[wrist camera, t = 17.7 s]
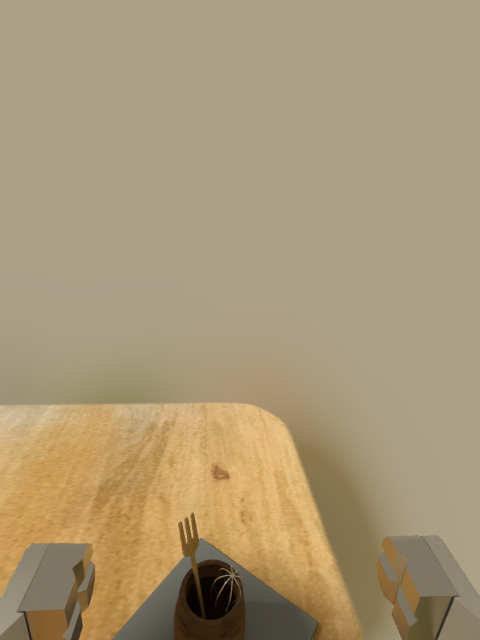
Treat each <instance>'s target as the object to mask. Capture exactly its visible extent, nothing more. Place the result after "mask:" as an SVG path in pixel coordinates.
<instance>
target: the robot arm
mask: <svg viewBox="0 0 480 640" xmlns="http://www.w3.org/2000/svg"><path fill="white" fill-rule="evenodd" d="M382 548H383V550H384V553H383V554H381V555H380V556H379V557H378V562H377V577H378V581H379V584H380V587H381V590H382V592H383V595H384V596H385V597H386V598H387V599H388V600H389V601H390V602H391V603H392V604H393V609H392V616H393V619H394V621H395V623H396V625H397V628H398V630H399V633H400V635H401V637H402V640H480V596H479V595H478V593H477V592H476V590H475V589H474V587H473V586H472V584H471V583H470V581H469V580H468V578H467V577H466V575H465V574H464V572H463V571H462V569H461V568H460V566H459V565H458V563H457V562H456V560H455V558H454V557H453V555H452V554H451V553H450V551H449V549H448V548H447V546H446V545H445V543H444V542H443V540H442V539H441V538H440V537H438V536H396V537H395V536H394V537H386V538H385V539H384V540H383V543H382ZM92 554H93V548H92V544H73V543H40V544H31V545H30V546H29V547H28V548H27V549H26V550H25V552H24V554H23V556H22V558H21V560H20V562H19V564H18V566H17V568H16V570H15V571H14V573H13V575H12V577H11V579H10V581H9V583H8V585H7V587H6V589H5V591H4V593H3V594H2V596H1V598H0V640H79V637H80V634H81V630H82V627H83V626H82V618H81V614H82V613H83V612H84V611H85V610H86V609H87V608H88V607H89V603H90V600H91V596H92V592H93V587H94V581H95V564H94V563H93V562H91V561H90V560H91V557H92Z"/></svg>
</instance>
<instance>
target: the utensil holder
mask: <svg viewBox="0 0 480 640" xmlns="http://www.w3.org/2000/svg"><path fill="white" fill-rule="evenodd" d="M190 517H191V523H192V530H193V539H192V536H191V531H190V526H189V521H188V518H187V517H186V518H185V519H184V521H185V527H186V533H187V540H188V542H187V544H186V541H185V536H184V530H183V525H182V522H179V524H178V526H179V532H180V538H181V544H182V551H183V555H184V556H185V557H188V556H190V557H191V563H192V568H191V569H190V570H189V571H188V572H187V573H186V575H185V577H184V578H183V581H182V583H181V587H180V590H179V596H178V600H177V603H176V607H175V613H174V640H244V634H245V625H246V607H245V601H244V592H243V588H244V586H242V582H241V579H242V578H241V577H239V575H238V573H237V571H240V570H237V571H235V569H234V568H233V567H232V566H231V565H229V564H227V563H225V562H223V561H220V560H214V559H211V560H205V561H202V562H199V563H197V564H196V559H195V552H196V550H197V548H198V546H199V538H198V533H197V528H196V523H195V517H194V513H191V514H190ZM239 574H240V572H239ZM240 578H241V579H240ZM242 580H243V579H242ZM243 581H244V580H243ZM244 585H245V582H244Z"/></svg>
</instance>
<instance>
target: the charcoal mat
mask: <svg viewBox="0 0 480 640" xmlns="http://www.w3.org/2000/svg"><path fill="white" fill-rule="evenodd" d="M195 559H196V564H197V563H199V562H202V561H205V560H211V559H214V560H220V561H223V562H225V563H227V564H229V565H231V566H232V567H233V568H234V569H235V571H237V570H240V571H237V573H238V575H239V577H241V578H242V579H243V580H244V581H243V580H242V579H241V578H240V579H241V582H242V586H244V588H243V592H244V601H245V607H246V625H245V634H244V640H312V637H313V635H314V632H315V630H316V628H317V624H318V622H317V621H316V620H314V619H313V618H312V617H310V616H309V615H307V614H306V613H305V612H303V611H302V610H301V609H299V608H298V607H296V606H295V605H294V604H292V603H291V602H289V601H288V600H287V599H285V598H284V597H282V596H281V595H280V594H278V593H277V592H275V591H274V590H273V589H271V588H270V587H269V586H267V585H266V584H264V583H263V582H262V581H260V580H259V579H257V578H256V577H255V576H253V575H252V574H250V573H249V572H248V571H246V570H245V569H244V568H242V567H241V566H239V565H238V564H237V563H235V562H234V561H232V560H231V559H230V558H228V557H227V556H225V555H224V554H223V553H221V552H220V551H219V550H217V549H216V548H214V547H213V546H212V545H210V544H209V543H207V542H206V541H205V540H203V539H202V538H200V539H199V546H198V548H197V550H196V552H195ZM191 568H192V563H191V557H190V556H188V557H185V556H184V558H183V559H182V560H181V561H180V562H179V563H178V564H177V566H176V567H175V568H174V569H173V570H172V571H171V572H170V574H169V575H168V576H167V577H166V578H165V579H164V580H163V582H162V583H161V584H160V585H159V586H158V587H157V588H156V590H155V591H154V592H153V593H152V594H151V595H150V596H149V598H148V599H147V600H146V601H145V602H144V603H143V604H142V606H141V607H140V608H139V609H138V610H137V611H136V613H135V614H134V615H133V616H132V617H131V618H130V619H129V621H128V622H127V623H126V624H125V625H124V626H123V627H122V629H121V630H120V631H119V632H118V633H117V634H116V635H115V637H114V638H113V639H112V640H174V613H175V607H176V603H177V600H178V596H179V590H180V587H181V583H182V581H183V578H184V577H185V575H186V573H187V572H188V571H189V570H190V569H191ZM239 572H240V574H239ZM244 582H245V585H244Z"/></svg>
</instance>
